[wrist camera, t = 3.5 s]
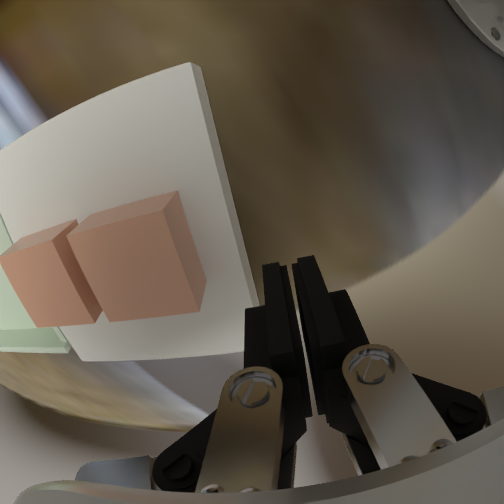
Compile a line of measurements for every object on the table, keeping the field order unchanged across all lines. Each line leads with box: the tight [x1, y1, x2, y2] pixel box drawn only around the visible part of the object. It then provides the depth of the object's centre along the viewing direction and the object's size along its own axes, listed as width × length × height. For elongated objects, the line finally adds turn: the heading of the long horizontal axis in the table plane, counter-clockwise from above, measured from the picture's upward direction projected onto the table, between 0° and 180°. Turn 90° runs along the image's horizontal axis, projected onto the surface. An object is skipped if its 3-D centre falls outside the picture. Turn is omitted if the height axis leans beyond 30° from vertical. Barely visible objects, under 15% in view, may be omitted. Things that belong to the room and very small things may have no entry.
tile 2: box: [67, 190, 207, 322], centre depth 14 cm, size 5×5×2 cm
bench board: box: [0, 62, 260, 361], centre depth 16 cm, size 14×16×2 cm
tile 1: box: [0, 219, 103, 328], centre depth 15 cm, size 5×5×2 cm
